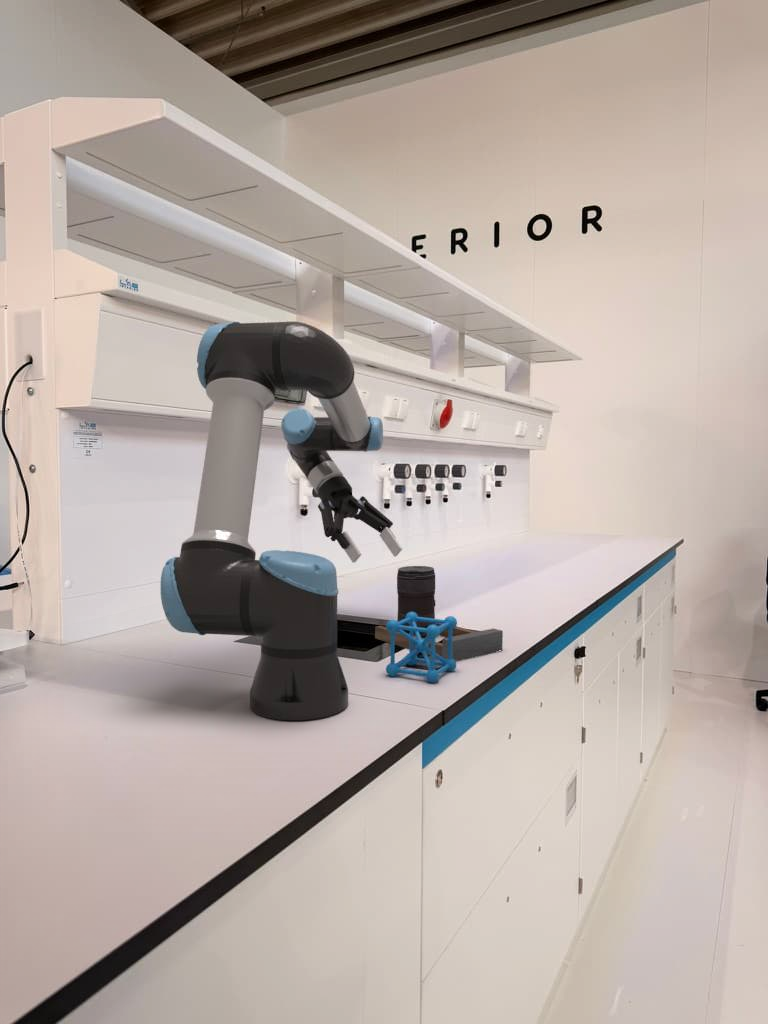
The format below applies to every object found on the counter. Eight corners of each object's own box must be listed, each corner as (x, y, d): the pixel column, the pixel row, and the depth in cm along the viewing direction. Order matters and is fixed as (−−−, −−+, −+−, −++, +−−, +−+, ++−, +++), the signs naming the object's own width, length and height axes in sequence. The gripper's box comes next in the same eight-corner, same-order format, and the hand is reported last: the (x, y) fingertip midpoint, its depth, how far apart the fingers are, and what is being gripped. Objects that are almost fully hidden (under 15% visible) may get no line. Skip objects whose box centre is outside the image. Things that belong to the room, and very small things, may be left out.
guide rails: (442, 659, 139) (442, 646, 139) (375, 638, 156) (375, 626, 155) (493, 648, 148) (493, 635, 148) (424, 629, 164) (424, 618, 164)
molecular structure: (408, 663, 137) (408, 610, 136) (458, 670, 133) (459, 615, 132) (383, 676, 128) (383, 620, 128) (436, 685, 124) (436, 626, 123)
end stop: (451, 662, 137) (451, 641, 137) (442, 659, 139) (442, 638, 139) (502, 650, 146) (502, 630, 146) (493, 648, 148) (493, 628, 148)
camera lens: (399, 632, 161) (399, 564, 160) (436, 634, 159) (437, 565, 158) (394, 641, 153) (394, 570, 152) (432, 643, 151) (433, 571, 150)
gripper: (359, 494, 182) (405, 560, 173) (282, 498, 163) (329, 572, 154) (375, 473, 178) (423, 540, 169) (298, 474, 159) (347, 549, 151)
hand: (378, 555), depth 162 cm, fingers open, 13 cm apart
